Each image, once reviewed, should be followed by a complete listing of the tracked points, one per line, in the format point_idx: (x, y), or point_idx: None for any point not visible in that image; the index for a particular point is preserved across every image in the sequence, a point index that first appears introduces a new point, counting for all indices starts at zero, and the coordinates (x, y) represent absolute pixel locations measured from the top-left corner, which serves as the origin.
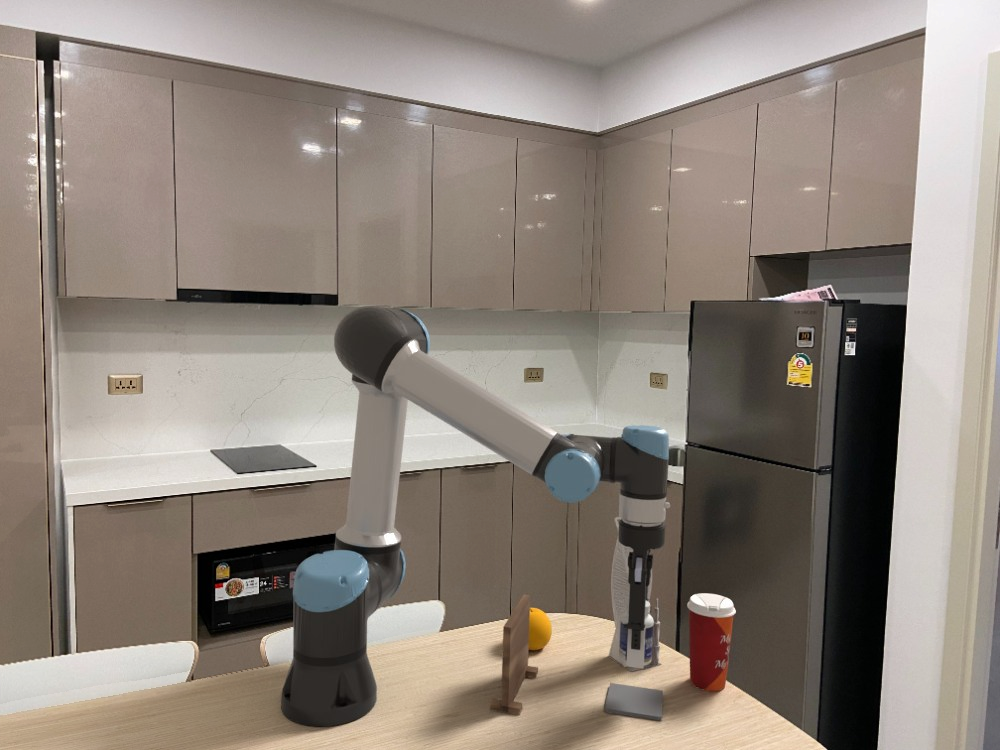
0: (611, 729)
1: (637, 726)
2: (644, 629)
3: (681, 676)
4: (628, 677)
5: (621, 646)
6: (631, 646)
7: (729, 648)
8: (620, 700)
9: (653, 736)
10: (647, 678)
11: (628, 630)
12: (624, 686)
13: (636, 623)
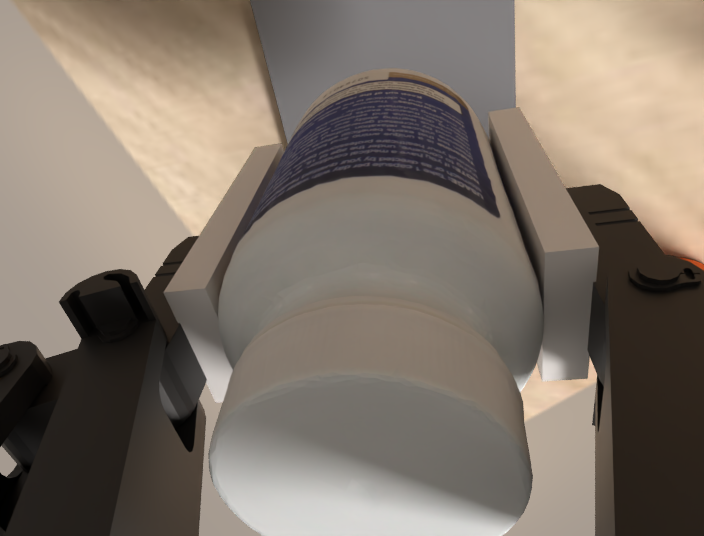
0: (146, 59)
1: (227, 144)
2: (216, 396)
3: (699, 223)
4: (641, 5)
5: (305, 126)
6: (174, 251)
7: None
8: (354, 42)
9: (200, 204)
10: (649, 97)
11: (175, 277)
12: (497, 24)
13: (5, 445)
